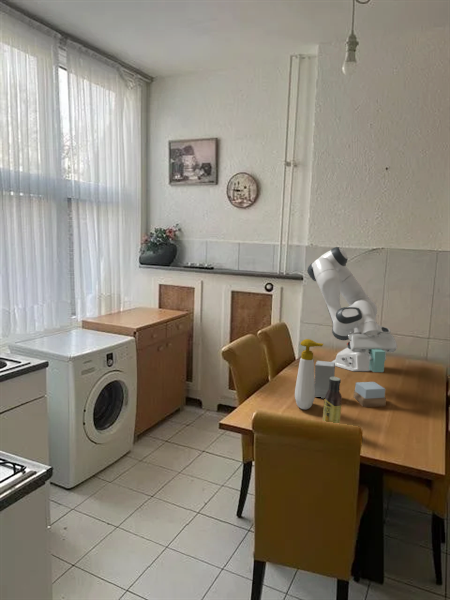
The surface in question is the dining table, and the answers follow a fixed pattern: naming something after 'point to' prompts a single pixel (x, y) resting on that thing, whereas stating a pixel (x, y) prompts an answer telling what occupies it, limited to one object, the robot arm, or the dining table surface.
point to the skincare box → (323, 377)
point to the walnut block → (369, 401)
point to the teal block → (377, 360)
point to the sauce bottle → (332, 401)
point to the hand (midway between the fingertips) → (377, 359)
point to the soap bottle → (306, 376)
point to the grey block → (370, 390)
